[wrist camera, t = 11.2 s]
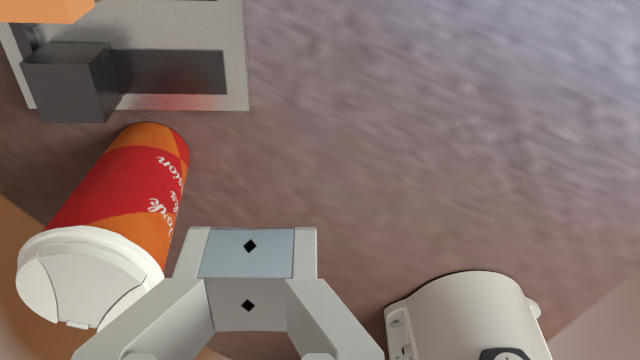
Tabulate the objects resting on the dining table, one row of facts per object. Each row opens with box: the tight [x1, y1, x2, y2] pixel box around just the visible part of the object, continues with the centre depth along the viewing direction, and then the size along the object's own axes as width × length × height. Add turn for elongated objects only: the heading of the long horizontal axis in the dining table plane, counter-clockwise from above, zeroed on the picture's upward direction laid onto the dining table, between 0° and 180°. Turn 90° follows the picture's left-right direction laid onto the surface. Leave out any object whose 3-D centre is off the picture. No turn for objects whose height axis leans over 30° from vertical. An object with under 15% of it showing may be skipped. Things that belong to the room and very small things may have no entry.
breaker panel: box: [0, 0, 251, 123], centre depth 27 cm, size 13×16×6 cm
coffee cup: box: [16, 122, 189, 332], centre depth 30 cm, size 8×8×15 cm
